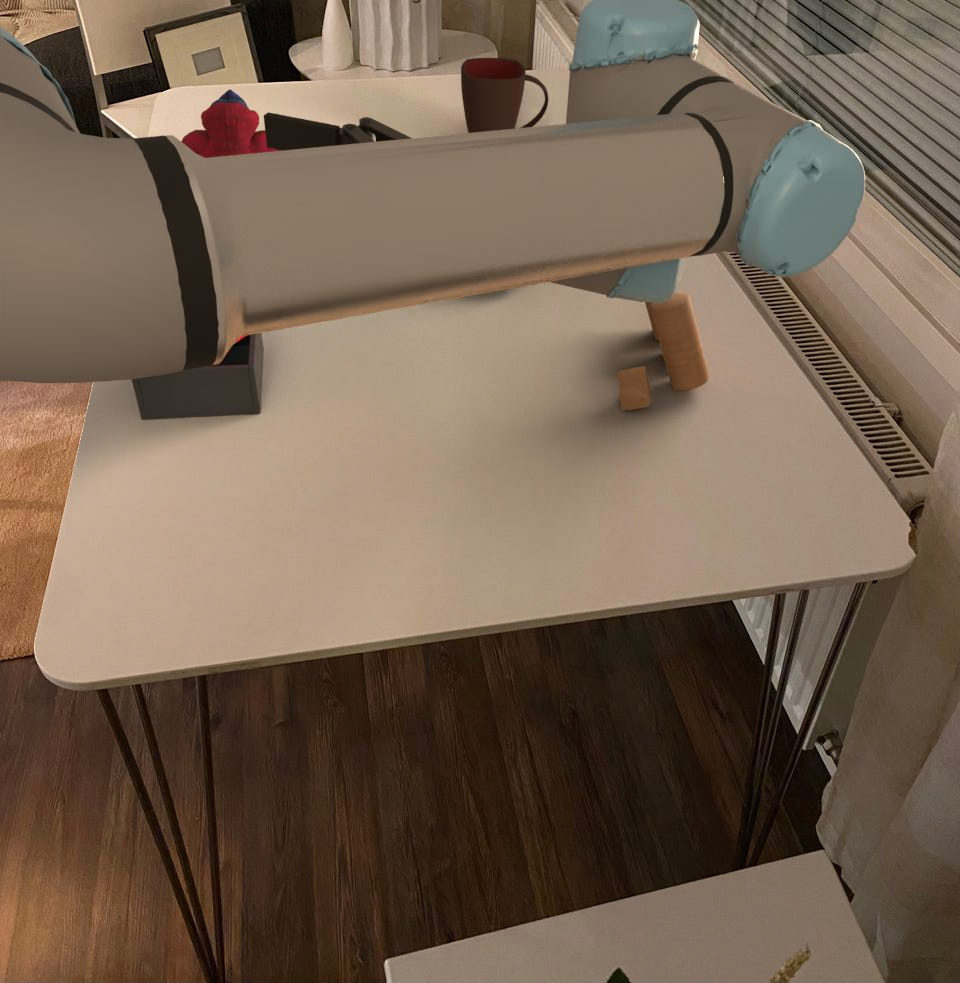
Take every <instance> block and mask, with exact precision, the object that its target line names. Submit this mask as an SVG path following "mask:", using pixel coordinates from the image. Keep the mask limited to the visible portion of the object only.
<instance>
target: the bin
mask: <svg viewBox="0 0 960 983" xmlns="http://www.w3.org/2000/svg"><path fill="white" fill-rule="evenodd" d="M262 333H263V332H262ZM262 333H256V334H251V335H247V336H245V337H244V338H242V339H241V340H239V341H237V342H236V343H234V344H233V345H232V347H231V348H230V349H229V351H228V352H227V354H226V355H225V357H224V358H223V360H222V361H221V362H220V363H219V364H216V365H211V366H205V367H200V368H194V369H189V370H184V371H180V372H175V373H170V374H165V375H158V376H151V377H144V378H136V379H131V382H132V386H133V387H132V388H133V390H134V394H135V399H136V402H137V407H138V411H139V414H140V419H141V420H142V421H144V420H160V419H161V420H163V419H164V420H165V419H183V418H203V417H223V416H241V415H260V414H261V412H262V411H261V410H262V391H263V390H262V388H263V374H264V373H263V369H264V352H265V351H264V342H263V334H262Z"/></svg>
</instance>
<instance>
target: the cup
mask: <svg viewBox="0 0 960 983" xmlns="http://www.w3.org/2000/svg"><path fill="white" fill-rule="evenodd" d="M526 73H527V72H526V68H525V67H524V65H523V64H522V63H521V62H520V61H518V60H516V59H509V58H501V57H475V58H474V57H473V58H468V59H466V60H464V62H462V64H461V66H460V83H461V84H460V86H461V87H460V88H461V97H462V98H461V99H462V104H463V113H464V118H465V125H466V129H467V133H475V132H486V131H496V130H507V129H516V126H517V122H518V118H519V114H520V110H521V106H522V102H523V97H524V91H525V83H526V82H530V83H533V84H535V85H537V86H538V87H539V88H540V89H541V90H542V92H543V95H544V102H543V105H542V107H541V109H540V111H539V112H538V113H537V114H536V115H535V116H534V117H533V118H532V119H530V121H528V122H527V123H525V124H524V125H522V126H521V127H520V128H528V127H535V125H537V124H538V123H539V122H540V120H542V118H543V116H544V115H545V113H546V111H547V109H548V106H549V93H548V89H547V88H546V86H545V84H544V83H543V82H542V81H541V80H540V79H538V78H537V77H535V76H533V75H530V74H526Z"/></svg>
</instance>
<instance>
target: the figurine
mask: <svg viewBox="0 0 960 983" xmlns="http://www.w3.org/2000/svg"><path fill="white" fill-rule="evenodd" d="M200 119H201V125H202V127H203V129H194V130H192V131H190V132H188V133H187V134H186V135H184V136H182V138H181V140H180V141H181V142H182V143H183V144H185V145H186V146H187V147H188V148H190V149H191V150H192V151H193V152H195V153H196V154H198V155H200V156H202V157H204V158H211V157H221V156H232V155H242V154H253V153H264V152H274V151H282V150H277V149H272V148H267V143H266V134H265V129H262V130H257V129H258V127H259V126H260V115H259V113H258V112H257V111H256V110H254V109H253V110H252V109H250V108H249V106H248V104H247V103H246V101H245V100H244V98H242V97H241V96H240V95H239V94H237V93H236V91H235V92H234V90H232V89H227V91H225V92H224V93H223V94H222V95H221V96H220V97H219V98H218V99H216V100H214V101H213V102H212V103H211V104H210V106H208V108H206V109H204V110H203V111H202V112H201V114H200Z"/></svg>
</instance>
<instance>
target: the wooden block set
mask: <svg viewBox="0 0 960 983" xmlns="http://www.w3.org/2000/svg"><path fill="white" fill-rule="evenodd" d="M644 304H645V308H646V310H647V314H648V319H649V321H650V325H651V328H652V333H653V336H654V340H656V341H658V342H659V346H660V349H661V353H662V357H663V360H664V364H665V368H666V371H667V376H668V378H669V381H670V382H669V383H670V386H671V387H672V388H673V389H674V390H677V391H691V390H695V389H698V388H700V387H702V386H703V385H705V384H706V383H708V381H709V379H710V373H709V368H708V365H707V361H706V356H705V352H704V349H703V344H702V340H701V336H700V333H699V329H698V325H697V321H696V317H695V313H694V308H693V305H692V300H691V297H690V295H689V294H687V293H685V292H675V294H674V295H673V296H672V297H671V298H670V299H669V300H667V301H665V302H662V303H651V302H644ZM617 378H618V388H619V398H620V399H619V400H620V410H621V412H623V411H630V410H635V409H643V408H649V407H650V405H651V404H650V403H651V400H652V395H653V390H652V385H651V383H650V378H649V375H648V373H647V368H646V366H644V365H643V366H637V367H631V368H626V369H620V370H617Z"/></svg>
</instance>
